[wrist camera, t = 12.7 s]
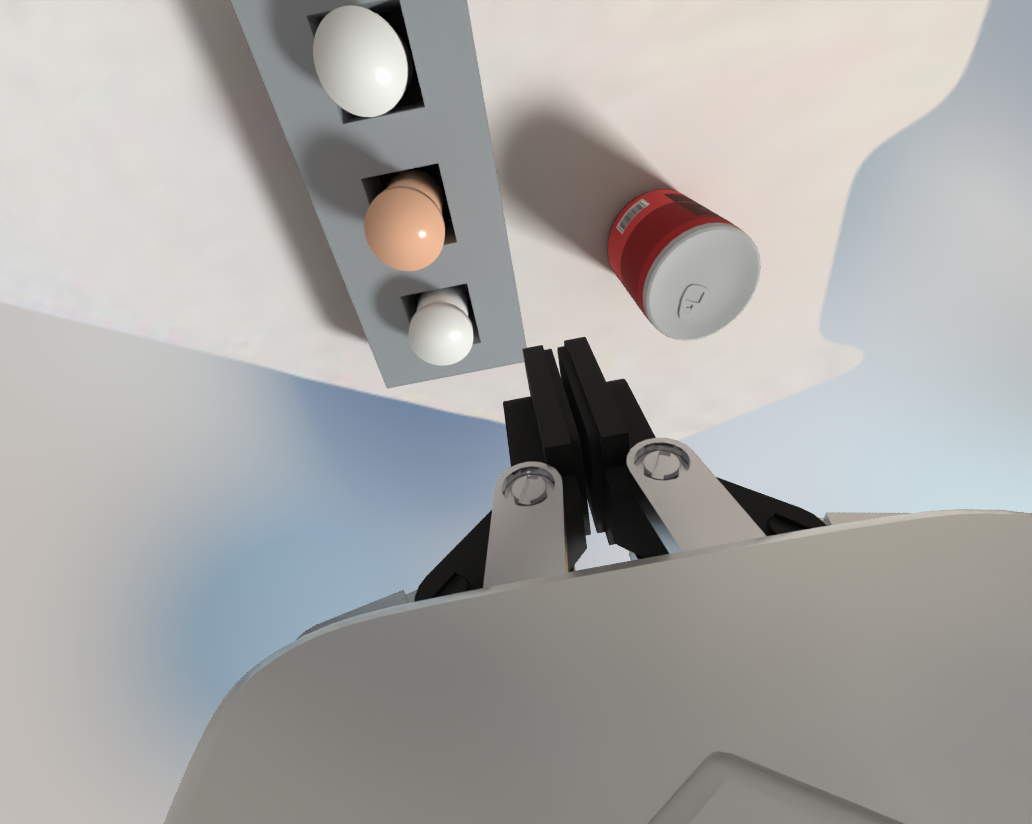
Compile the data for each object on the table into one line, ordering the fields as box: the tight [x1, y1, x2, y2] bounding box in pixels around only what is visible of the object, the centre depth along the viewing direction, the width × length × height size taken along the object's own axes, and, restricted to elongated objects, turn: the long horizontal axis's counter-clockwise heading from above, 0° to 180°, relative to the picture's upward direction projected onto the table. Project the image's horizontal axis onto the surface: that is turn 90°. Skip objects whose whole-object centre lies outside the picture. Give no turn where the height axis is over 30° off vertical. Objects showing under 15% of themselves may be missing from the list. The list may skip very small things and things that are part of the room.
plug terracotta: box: [364, 169, 445, 271], centre depth 31 cm, size 5×5×8 cm
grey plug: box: [408, 284, 473, 366], centre depth 37 cm, size 5×5×8 cm
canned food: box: [608, 189, 761, 340], centre depth 36 cm, size 8×8×11 cm
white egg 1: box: [313, 5, 413, 117], centre depth 27 cm, size 5×5×8 cm
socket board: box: [231, 0, 527, 388], centre depth 34 cm, size 26×12×6 cm, turn 9°
